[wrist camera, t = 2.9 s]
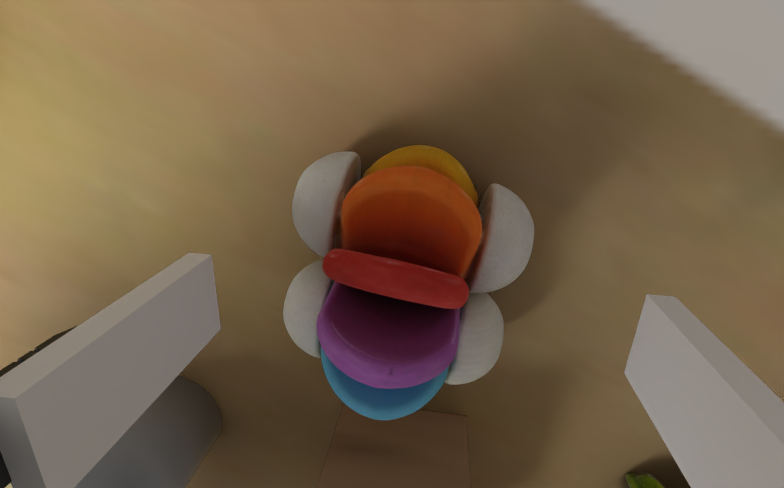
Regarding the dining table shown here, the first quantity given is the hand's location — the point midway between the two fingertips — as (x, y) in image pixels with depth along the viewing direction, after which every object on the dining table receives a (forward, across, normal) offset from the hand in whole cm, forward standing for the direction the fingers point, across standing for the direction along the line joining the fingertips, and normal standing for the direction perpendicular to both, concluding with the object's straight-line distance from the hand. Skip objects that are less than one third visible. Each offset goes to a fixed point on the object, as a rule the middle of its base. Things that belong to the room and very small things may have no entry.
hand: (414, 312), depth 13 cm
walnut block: (+5, 0, +11) cm, 12 cm away
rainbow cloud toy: (+6, +1, 0) cm, 6 cm away
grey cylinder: (+5, +12, +10) cm, 17 cm away
